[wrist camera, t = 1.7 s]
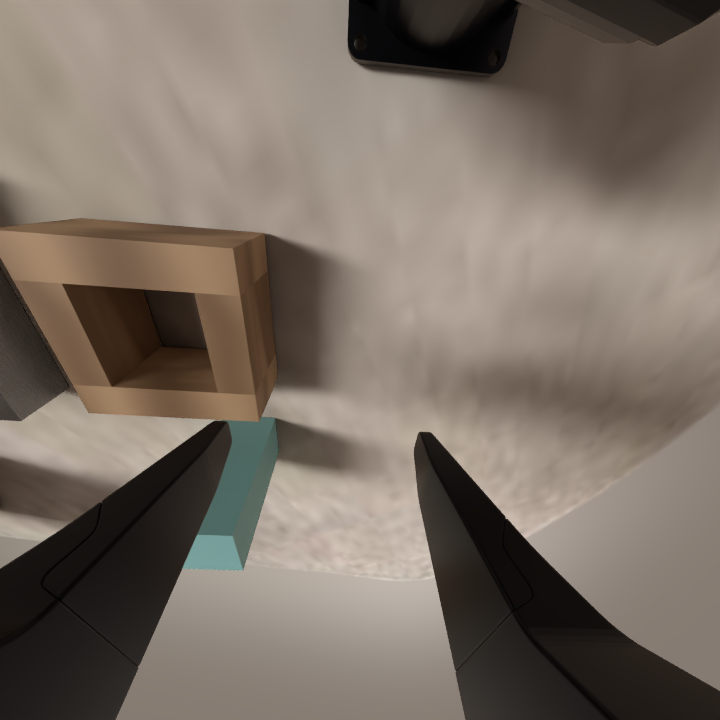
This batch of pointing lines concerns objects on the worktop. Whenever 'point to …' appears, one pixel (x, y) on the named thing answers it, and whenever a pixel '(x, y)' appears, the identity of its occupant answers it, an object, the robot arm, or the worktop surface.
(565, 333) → the worktop surface
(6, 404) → the backstop wall
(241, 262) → the socket block
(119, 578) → the robot arm
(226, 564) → the turquoise rectangular prism
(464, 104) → the worktop surface
